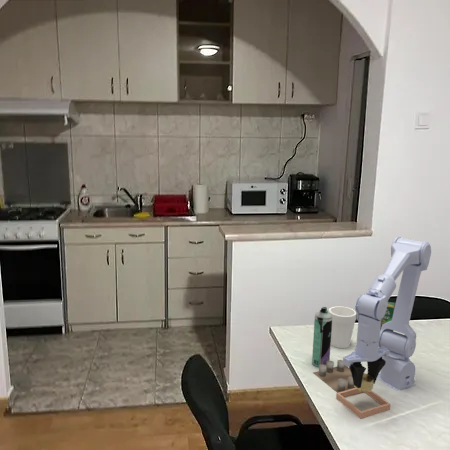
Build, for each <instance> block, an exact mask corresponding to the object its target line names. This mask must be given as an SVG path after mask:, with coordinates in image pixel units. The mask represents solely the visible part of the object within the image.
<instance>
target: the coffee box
mask: <svg viewBox="0 0 450 450" xmlns="http://www.w3.org/2000/svg"><path fill="white" fill-rule="evenodd" d="M395 304H396V302H391V301H388V306H387V309H386V313H385V315H384V317H383V318H382V319H381V327H380V331H381V328H382V325H383V324H384V323H387V322H389V321H392V317H393V313H394V308H395ZM391 331H394V330H391Z"/></svg>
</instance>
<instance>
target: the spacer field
mask: <svg viewBox="0 0 450 450" xmlns="http://www.w3.org/2000/svg"><path fill="white" fill-rule="evenodd" d="M336 364H337V365H336V366H334V361H332V360H330V361H327V362H326V365H324V364H320V365H319V368H318V370H317V371H314V372H312V374H313V375H315V377H317V378H318V379H320V380H321V381H322V382H323V383H325V384H326V385H327V386H328V387H329V388H330V389H332V390H333V391H334V392H335V393H339V392H342V391H346V390H349V389H353V388H355V387H354V383H353V378H352V374H351V371H350V368H349V367H347V366H346V365H344V364H343V359H337V362H336Z"/></svg>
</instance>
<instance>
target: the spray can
mask: <svg viewBox="0 0 450 450" xmlns="http://www.w3.org/2000/svg"><path fill="white" fill-rule="evenodd" d="M328 311H329V310H328V308H327V307H326V306H322V307H321V309H320V310H319V311H317V312H315V314H314V321H313V322H314V324H313V340H312V341H313V343H312V356H311V357H312V358H311V365H312V366H313V367H315V368H318V369H319V365H320V364H324V365H326V362H327V361H331V360H330V356H331V346H332V345H331V332H332V314H330V313H328Z"/></svg>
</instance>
